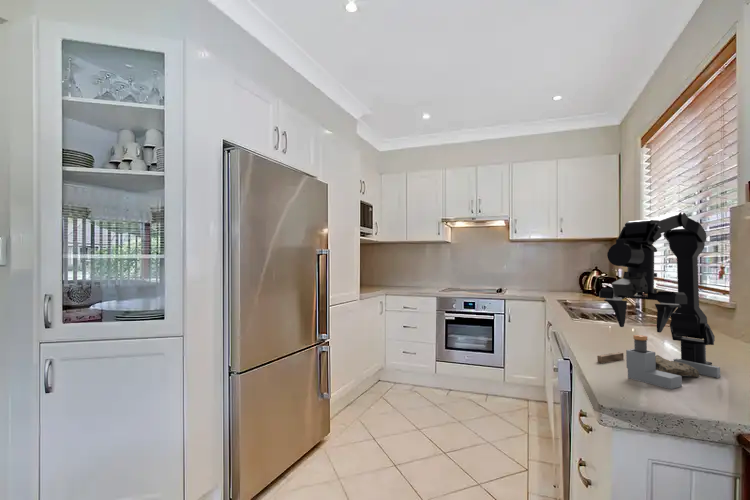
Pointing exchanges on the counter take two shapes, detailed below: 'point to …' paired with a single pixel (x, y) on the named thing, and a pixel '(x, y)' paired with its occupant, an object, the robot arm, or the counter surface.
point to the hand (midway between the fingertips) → (639, 329)
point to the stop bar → (610, 357)
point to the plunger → (640, 343)
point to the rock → (675, 367)
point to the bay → (645, 371)
